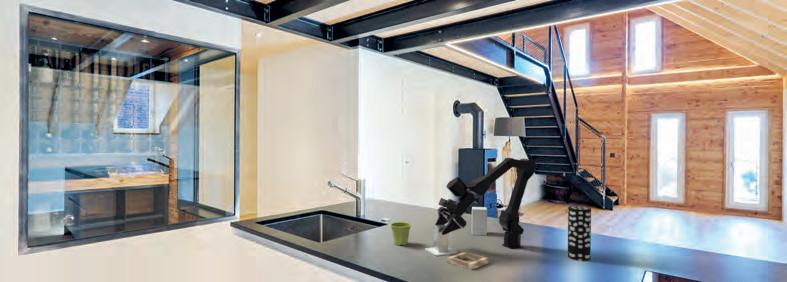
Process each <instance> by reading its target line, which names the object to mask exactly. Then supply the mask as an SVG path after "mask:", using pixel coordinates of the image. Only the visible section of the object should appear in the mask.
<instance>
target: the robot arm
mask: <svg viewBox="0 0 787 282" xmlns="http://www.w3.org/2000/svg"><path fill="white" fill-rule="evenodd" d="M537 166H538V165H537V162H536V161H535V160H533V159H529V158H520V159H515V158H513V157H505V158H504V159H503V161H501V162H500V163H498V165H496V166H495V167H494V168H492V169H490V171H488V172H487V173H486V174H484V175H482V176H480V177H477V178H475V179H473V180H471V182H469V183H465V182H464V181H463V180H462V178H460V176H456V177H455V178H453V179H451V180H449V181H448V183H447V184H446V189H447V190H448V191H449V192H450V193H451V194H452V195H453V196H454V197H456V198H458V199H457V200H454V199H452V198H448V199H446V198H442V197H441V198H440V199H439V202H438V206H440V207H439V208H438V209H437V214H438V217H437V220H436V222H435V224H434V225H445V226H446V227H445V229H444V230H443V232H442V235H445V234H447V233H452V232H455V231H458V230H461V229H465V227H467V221H466V219H464V218H463V216H464V214H467V213H468V210H469V208H471V206H472V205H473V204H478V205H479V204H480V197H478V196H483V195H485V194H486V193H487V192H488V191H489V189H491V186H492V184H493V183H494V182H495V181H497V180H498V179H499V178H501V177H503V175H504V174H506V173H507V172H508V171H510V170H511V169H512V168H516V169H515V171H516V178H515V179H516V180H515V182H514V185H513V189H512V191H511V195H510V198H509V201H508V204H507V207H506V208H505V210H503V209H501V210H500V215H499V216H498V223H499V224H500V226H501V227H502V231H504V235H503V243H501V245H502V246H504V247H506V248H509V249H512V250H513V249H519V248H523V247H524V246H523V245H521V242H522V241H521V237H522V236H521V235H523V234H524V231H525V229H524V228H523V227H522V226H521V225H520V224H519V222H520V212H519V210H520V208H521V204H522V201H523V198H524V195H525V191H526V188H527V185H528V182H529V180H530V179H531V178H532V177H533V176H534V174H535V172H536V169H537ZM475 195H477V196H475Z"/></svg>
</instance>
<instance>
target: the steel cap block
mask: <svg viewBox="0 0 787 282" xmlns="http://www.w3.org/2000/svg"><path fill="white" fill-rule="evenodd" d="M446 226H447V225H446V224H444V225H435V224H434V226H433V247H434V249H435V250H436V251H437V252H448V247H449V239H450V238H449V233H447V234H445V235H442V232H443V230H444V229H445V227H446Z"/></svg>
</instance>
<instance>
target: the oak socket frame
mask: <svg viewBox="0 0 787 282" xmlns="http://www.w3.org/2000/svg"><path fill="white" fill-rule="evenodd" d="M465 259H467V260H471V261H466V260H465ZM447 264H450V265H453V266H458V267H461V268H464V269H466V270H467V269H468V270H470V271H471V270H476V269H478V268H480V267H482V266H485V265H488V264H489V257H486V256H482V255H479V254H475V253H470V252H467V251H464V252H460V253H457V254H453V255H451V256H448V257H447Z"/></svg>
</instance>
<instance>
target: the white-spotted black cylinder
mask: <svg viewBox="0 0 787 282" xmlns="http://www.w3.org/2000/svg"><path fill="white" fill-rule="evenodd" d="M591 236H592V208H591V207H588V206H583V205H582V206H580V205H570V206H568V207H567V258H568V259H570V260H573V261H580V262H589V261H591V253H592V252H591V251H592V249H591V248H592V247H591V245H592V244H591V243H592V242H591V241H592V239H591V238H592V237H591Z"/></svg>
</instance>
